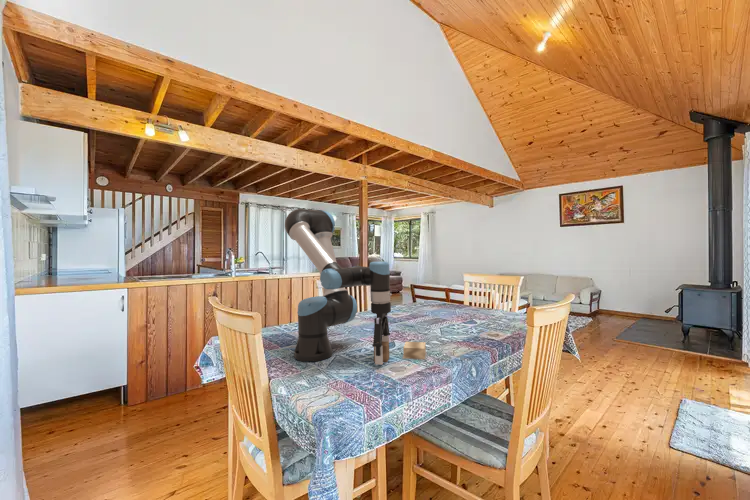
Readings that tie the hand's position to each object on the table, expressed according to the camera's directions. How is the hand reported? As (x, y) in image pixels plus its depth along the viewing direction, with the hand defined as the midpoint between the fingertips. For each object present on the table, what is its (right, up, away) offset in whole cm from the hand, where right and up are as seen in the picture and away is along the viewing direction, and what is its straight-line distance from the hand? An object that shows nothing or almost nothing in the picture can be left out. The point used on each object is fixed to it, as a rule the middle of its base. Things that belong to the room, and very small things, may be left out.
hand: (382, 358), depth 123 cm
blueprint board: (+13, -1, +5) cm, 14 cm away
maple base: (+13, 0, +5) cm, 14 cm away
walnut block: (0, -2, 0) cm, 2 cm away
